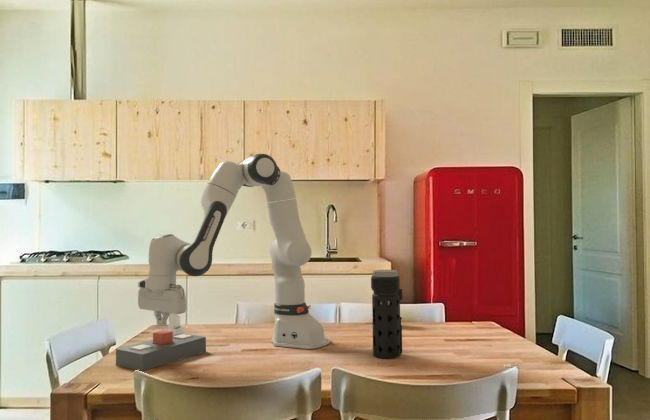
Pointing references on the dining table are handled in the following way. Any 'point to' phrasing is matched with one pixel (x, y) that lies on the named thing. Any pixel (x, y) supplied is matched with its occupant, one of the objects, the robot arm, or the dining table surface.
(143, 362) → the button console
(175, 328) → the white angled block
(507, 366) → the paper
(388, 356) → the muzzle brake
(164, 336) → the red button
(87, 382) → the dining table surface
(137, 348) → the white button left
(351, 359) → the dining table surface
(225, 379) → the dining table surface
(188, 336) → the white button right
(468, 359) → the dining table surface
